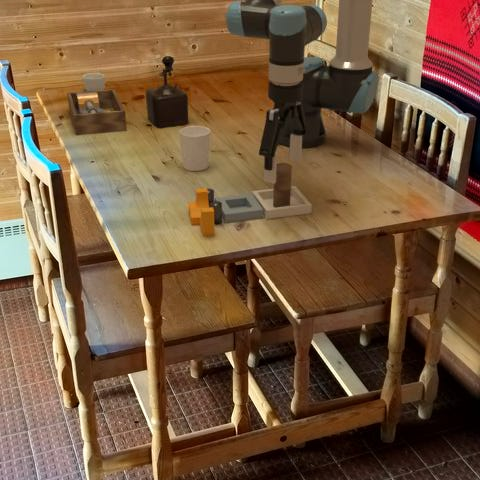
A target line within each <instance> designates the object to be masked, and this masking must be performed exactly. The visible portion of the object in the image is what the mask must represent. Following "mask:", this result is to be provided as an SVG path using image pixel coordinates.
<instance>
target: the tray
mask: <svg viewBox="0 0 480 480" xmlns="http://www.w3.org/2000/svg"><path fill="white" fill-rule="evenodd" d="M273 192H274V188H269V189H260V190H258V189H257V190H252V191H251V194H252V195H253V196H254V198H255V199H256V201H257V202H258V203H259V205H260V206H261V207H262V209H263V218H265V219H266V220H271V219H280V218H288V217H295V216H302V215H309V214H312V210H313V209H312V208H313V207H312V206H313V204H311V202H310V201H309V200H308V199H307V197H305V195H304V194H303V193H302V192H301V191H300V190H299V189H298V188H297V186H296V185H294V186H292V185H291V194H290V206H285V207H277V208H275V207H274V206H273Z"/></svg>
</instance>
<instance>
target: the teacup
mask: <svg viewBox="0 0 480 480" xmlns="http://www.w3.org/2000/svg"><path fill="white" fill-rule="evenodd" d="M82 83H83V87H84V89H85V91H96V90H105V88H106V74H104V73H103V72H102V73H101V72H88V73H85V74H83V75H82Z"/></svg>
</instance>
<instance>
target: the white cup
mask: <svg viewBox="0 0 480 480" xmlns="http://www.w3.org/2000/svg"><path fill="white" fill-rule="evenodd" d="M179 137H180V139H179V141H180V149H181V150H180V151H181V157H182V167H183V168H184V170H187V171H190V172H201V171H205V170H207V169H208V168H209V160H210V150H211V149H210V148H211V147H210V145H211V144H210V143H211V130H210V128H208V127H206V126H202V125H190V126H185V127H182V128H181V129H179Z"/></svg>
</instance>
